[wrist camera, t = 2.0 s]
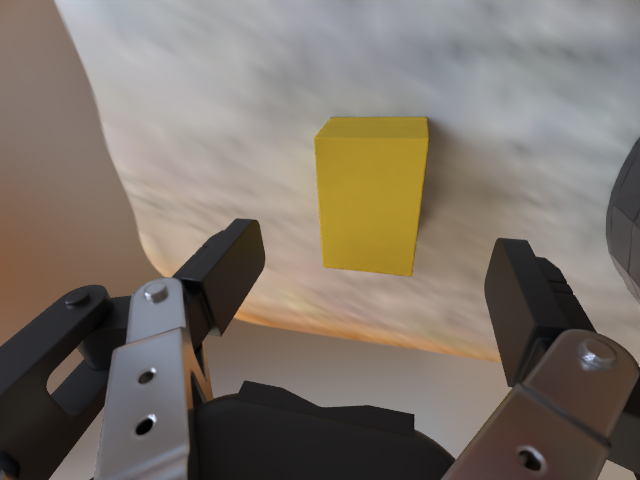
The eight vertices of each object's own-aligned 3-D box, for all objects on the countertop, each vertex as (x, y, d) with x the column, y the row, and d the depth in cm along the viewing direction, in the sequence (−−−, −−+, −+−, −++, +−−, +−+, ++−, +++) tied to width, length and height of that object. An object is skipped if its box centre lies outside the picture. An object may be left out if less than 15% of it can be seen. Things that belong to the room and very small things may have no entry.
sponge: (331, 117, 14) (313, 137, 12) (426, 116, 13) (429, 138, 11) (335, 233, 17) (322, 267, 15) (412, 239, 16) (411, 277, 14)
